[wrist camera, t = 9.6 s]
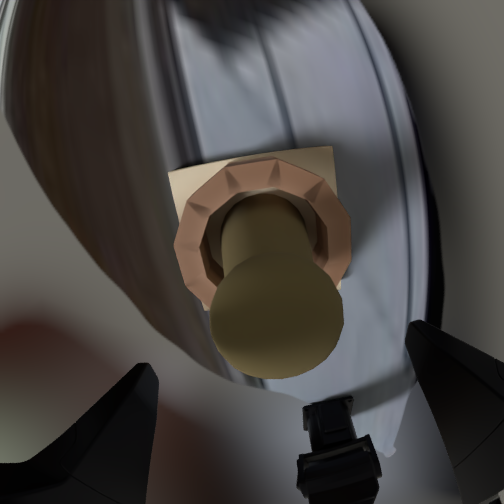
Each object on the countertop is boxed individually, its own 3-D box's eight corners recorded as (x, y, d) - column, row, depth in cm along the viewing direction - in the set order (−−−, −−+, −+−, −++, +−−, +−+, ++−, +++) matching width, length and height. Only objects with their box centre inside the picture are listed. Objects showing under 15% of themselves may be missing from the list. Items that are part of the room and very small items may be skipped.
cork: (229, 184, 17) (204, 250, 7) (317, 205, 18) (394, 288, 8) (213, 265, 20) (185, 387, 10) (292, 281, 20) (326, 402, 10)
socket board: (336, 282, 22) (352, 311, 18) (206, 302, 22) (199, 334, 18) (327, 145, 17) (348, 148, 14) (172, 170, 18) (153, 179, 14)
